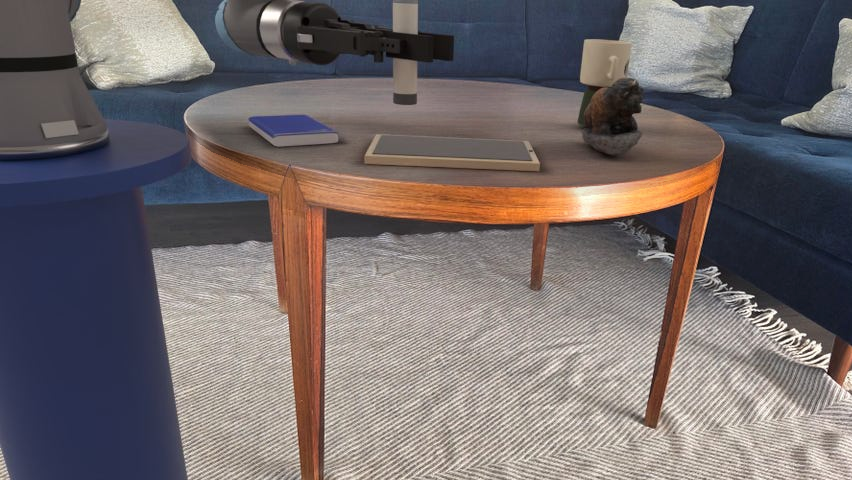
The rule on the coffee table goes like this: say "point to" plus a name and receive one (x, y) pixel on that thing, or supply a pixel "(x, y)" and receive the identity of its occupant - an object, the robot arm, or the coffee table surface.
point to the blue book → (292, 130)
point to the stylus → (404, 69)
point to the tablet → (452, 153)
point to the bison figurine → (614, 117)
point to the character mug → (602, 67)
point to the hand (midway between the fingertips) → (441, 48)
